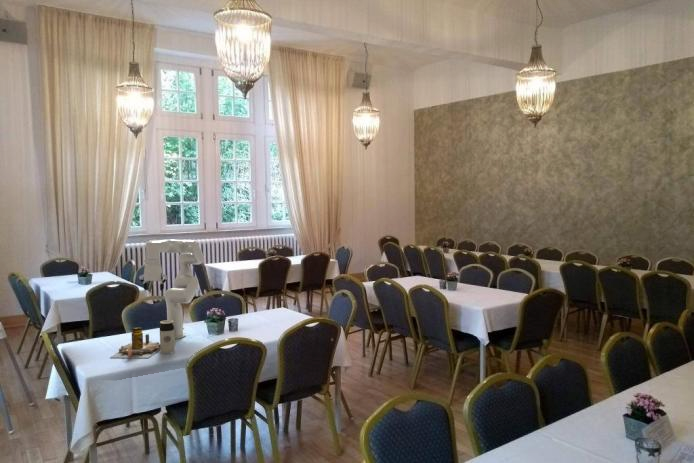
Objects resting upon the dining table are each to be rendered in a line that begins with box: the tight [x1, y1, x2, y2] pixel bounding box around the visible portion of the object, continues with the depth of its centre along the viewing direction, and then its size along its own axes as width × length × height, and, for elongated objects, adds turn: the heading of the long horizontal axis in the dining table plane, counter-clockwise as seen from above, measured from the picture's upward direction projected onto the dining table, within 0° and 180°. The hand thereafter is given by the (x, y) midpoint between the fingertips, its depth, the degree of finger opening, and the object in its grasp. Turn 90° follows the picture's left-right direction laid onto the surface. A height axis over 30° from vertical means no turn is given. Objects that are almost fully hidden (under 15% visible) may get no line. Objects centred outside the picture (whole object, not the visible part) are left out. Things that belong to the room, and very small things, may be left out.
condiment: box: [127, 326, 145, 350], centre depth 315 cm, size 7×8×12 cm
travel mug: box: [159, 319, 176, 355], centre depth 317 cm, size 8×8×18 cm
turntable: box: [118, 333, 160, 354], centre depth 320 cm, size 23×23×7 cm
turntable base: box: [109, 348, 160, 360], centre depth 318 cm, size 26×22×6 cm
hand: (153, 290), depth 328 cm, fingers open, 9 cm apart
